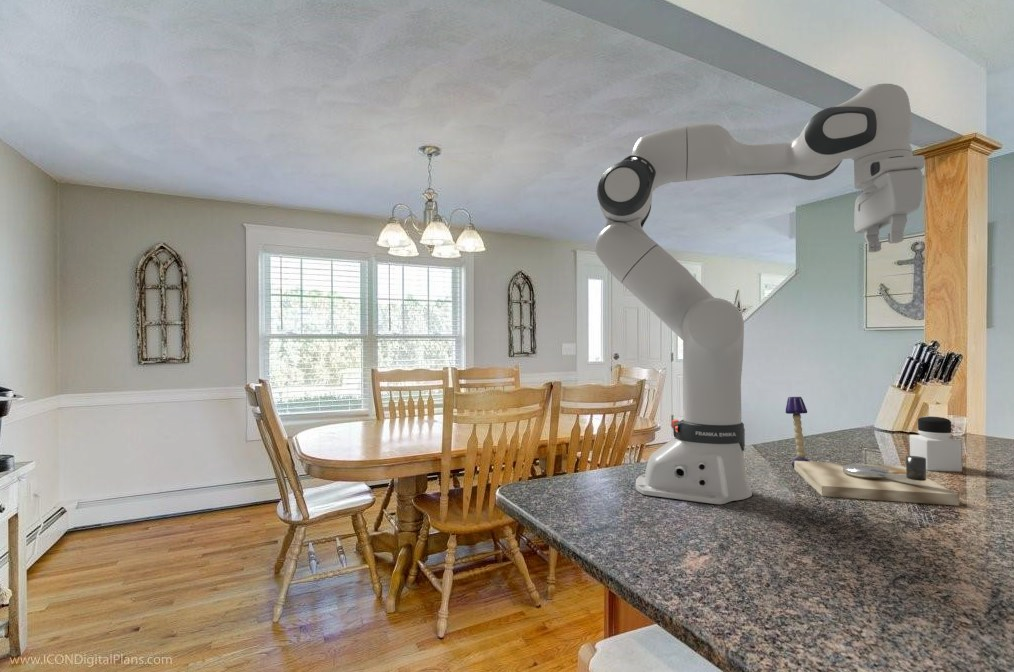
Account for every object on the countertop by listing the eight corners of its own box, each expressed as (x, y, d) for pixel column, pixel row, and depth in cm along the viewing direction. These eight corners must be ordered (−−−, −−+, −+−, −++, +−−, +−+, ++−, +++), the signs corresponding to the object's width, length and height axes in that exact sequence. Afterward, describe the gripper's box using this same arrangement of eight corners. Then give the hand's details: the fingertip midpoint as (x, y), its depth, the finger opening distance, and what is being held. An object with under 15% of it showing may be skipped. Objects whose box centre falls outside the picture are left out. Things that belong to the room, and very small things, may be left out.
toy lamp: (790, 466, 121) (785, 396, 123) (787, 464, 125) (783, 396, 127) (813, 467, 119) (808, 396, 121) (810, 465, 123) (805, 396, 125)
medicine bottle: (963, 472, 115) (961, 419, 116) (927, 470, 117) (926, 419, 117) (942, 464, 122) (941, 415, 123) (909, 463, 124) (908, 414, 124)
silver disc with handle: (834, 471, 107) (834, 447, 108) (856, 467, 111) (855, 444, 111) (915, 488, 95) (914, 461, 95) (935, 482, 98) (935, 456, 98)
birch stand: (822, 496, 99) (821, 485, 99) (794, 469, 120) (794, 460, 120) (959, 505, 92) (958, 494, 92) (904, 475, 113) (904, 466, 113)
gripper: (844, 191, 105) (845, 257, 105) (885, 157, 86) (887, 238, 86) (879, 188, 104) (881, 255, 103) (930, 152, 84) (932, 235, 84)
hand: (884, 247), depth 94 cm, fingers open, 8 cm apart
